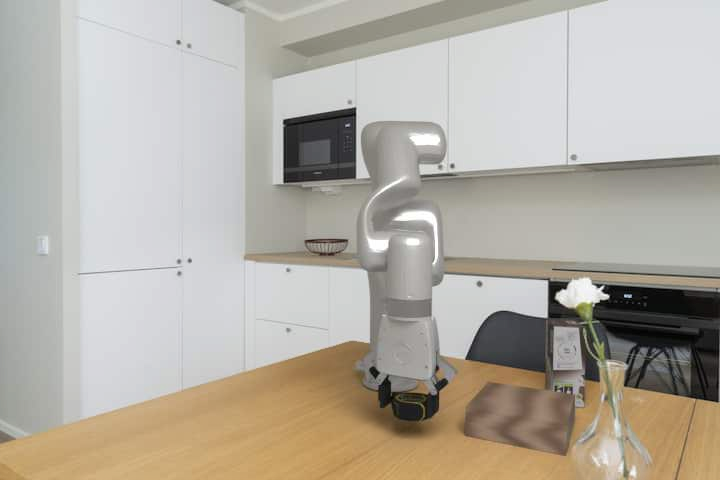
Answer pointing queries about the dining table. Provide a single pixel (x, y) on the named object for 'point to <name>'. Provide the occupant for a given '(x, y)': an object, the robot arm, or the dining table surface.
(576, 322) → the coffee box
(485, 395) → the block
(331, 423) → the dining table surface
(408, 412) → the tape measure
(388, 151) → the robot arm
